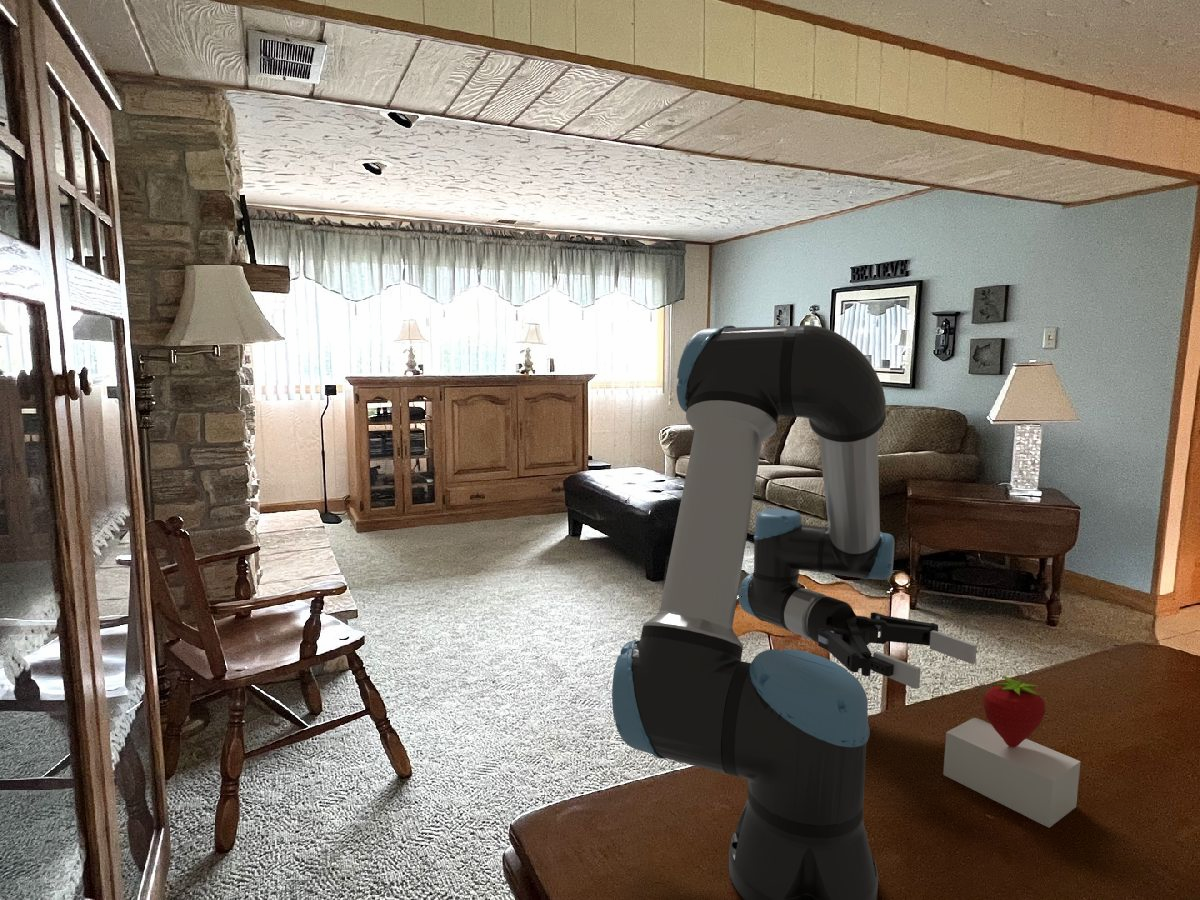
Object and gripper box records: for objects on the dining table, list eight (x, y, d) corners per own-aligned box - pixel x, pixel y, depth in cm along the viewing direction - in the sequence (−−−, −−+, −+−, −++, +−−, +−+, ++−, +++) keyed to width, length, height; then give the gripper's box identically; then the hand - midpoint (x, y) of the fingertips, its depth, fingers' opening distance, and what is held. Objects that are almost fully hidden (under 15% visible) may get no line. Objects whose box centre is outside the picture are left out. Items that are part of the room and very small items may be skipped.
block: (1049, 827, 84) (1053, 780, 83) (943, 774, 95) (946, 732, 94) (1076, 807, 88) (1080, 761, 87) (971, 758, 99) (974, 717, 98)
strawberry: (968, 737, 93) (973, 663, 91) (1017, 730, 94) (1023, 658, 93) (1003, 762, 87) (1009, 683, 86) (1055, 754, 89) (1061, 677, 87)
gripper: (868, 624, 122) (994, 670, 104) (765, 659, 108) (890, 717, 91) (870, 582, 121) (997, 620, 103) (766, 611, 107) (893, 661, 90)
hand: (948, 666), depth 97 cm, fingers open, 13 cm apart
